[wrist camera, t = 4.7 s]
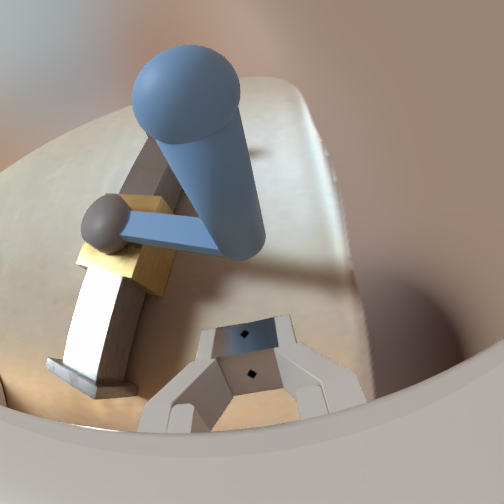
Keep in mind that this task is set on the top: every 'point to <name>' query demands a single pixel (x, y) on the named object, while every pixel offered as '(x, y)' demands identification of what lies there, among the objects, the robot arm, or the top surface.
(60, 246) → the top surface
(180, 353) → the top surface
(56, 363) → the valve pipe
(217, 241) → the lever
